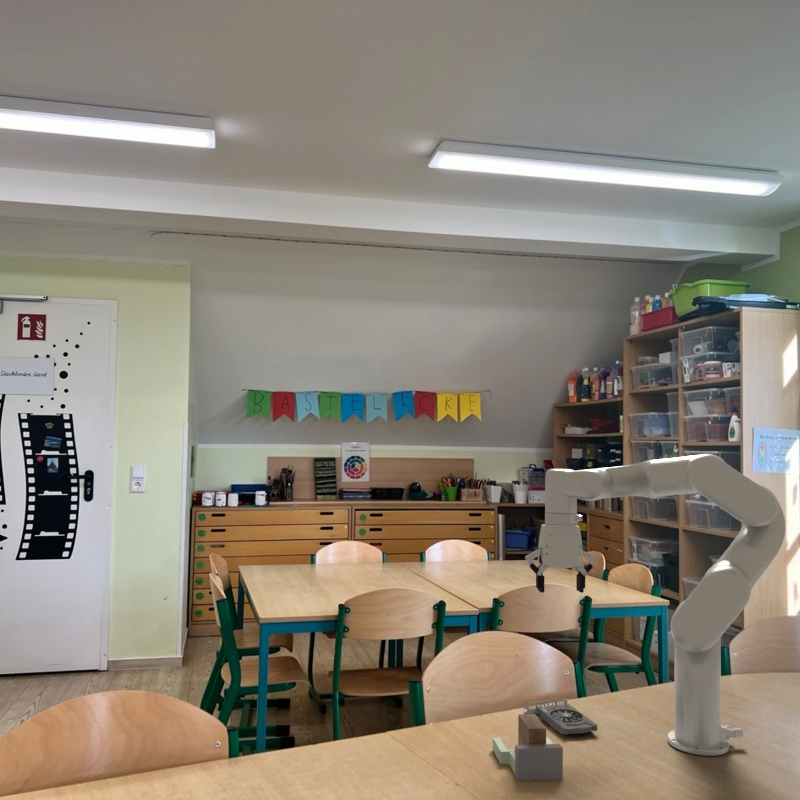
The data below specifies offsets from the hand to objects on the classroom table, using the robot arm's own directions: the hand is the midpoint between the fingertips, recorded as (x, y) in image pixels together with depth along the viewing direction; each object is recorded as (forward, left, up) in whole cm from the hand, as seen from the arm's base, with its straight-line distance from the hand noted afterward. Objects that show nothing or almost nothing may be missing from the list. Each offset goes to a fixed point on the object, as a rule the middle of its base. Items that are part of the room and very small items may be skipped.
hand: (560, 591), depth 179 cm
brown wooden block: (+14, +25, -30) cm, 42 cm away
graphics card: (+1, +3, -31) cm, 31 cm away
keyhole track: (+14, +24, -30) cm, 41 cm away
